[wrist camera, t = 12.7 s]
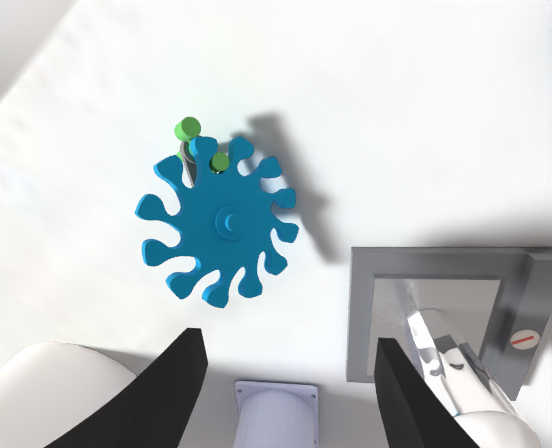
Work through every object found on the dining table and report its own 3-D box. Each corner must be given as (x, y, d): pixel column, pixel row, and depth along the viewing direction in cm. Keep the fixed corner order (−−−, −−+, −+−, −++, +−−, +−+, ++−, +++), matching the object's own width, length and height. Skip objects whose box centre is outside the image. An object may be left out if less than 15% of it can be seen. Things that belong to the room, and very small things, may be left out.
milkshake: (385, 351, 23) (431, 520, 14) (403, 296, 21) (471, 456, 12) (445, 360, 23) (532, 539, 14) (470, 305, 20) (593, 477, 11)
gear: (319, 265, 20) (182, 347, 15) (272, 253, 25) (156, 312, 20) (277, 99, 18) (94, 130, 12) (233, 122, 22) (89, 151, 17)
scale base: (503, 382, 25) (516, 403, 23) (345, 373, 26) (347, 392, 25) (552, 247, 19) (574, 261, 18) (351, 247, 21) (354, 260, 20)
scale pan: (467, 374, 24) (470, 381, 23) (365, 368, 25) (366, 375, 24) (495, 275, 20) (500, 280, 19) (373, 273, 21) (374, 278, 20)
